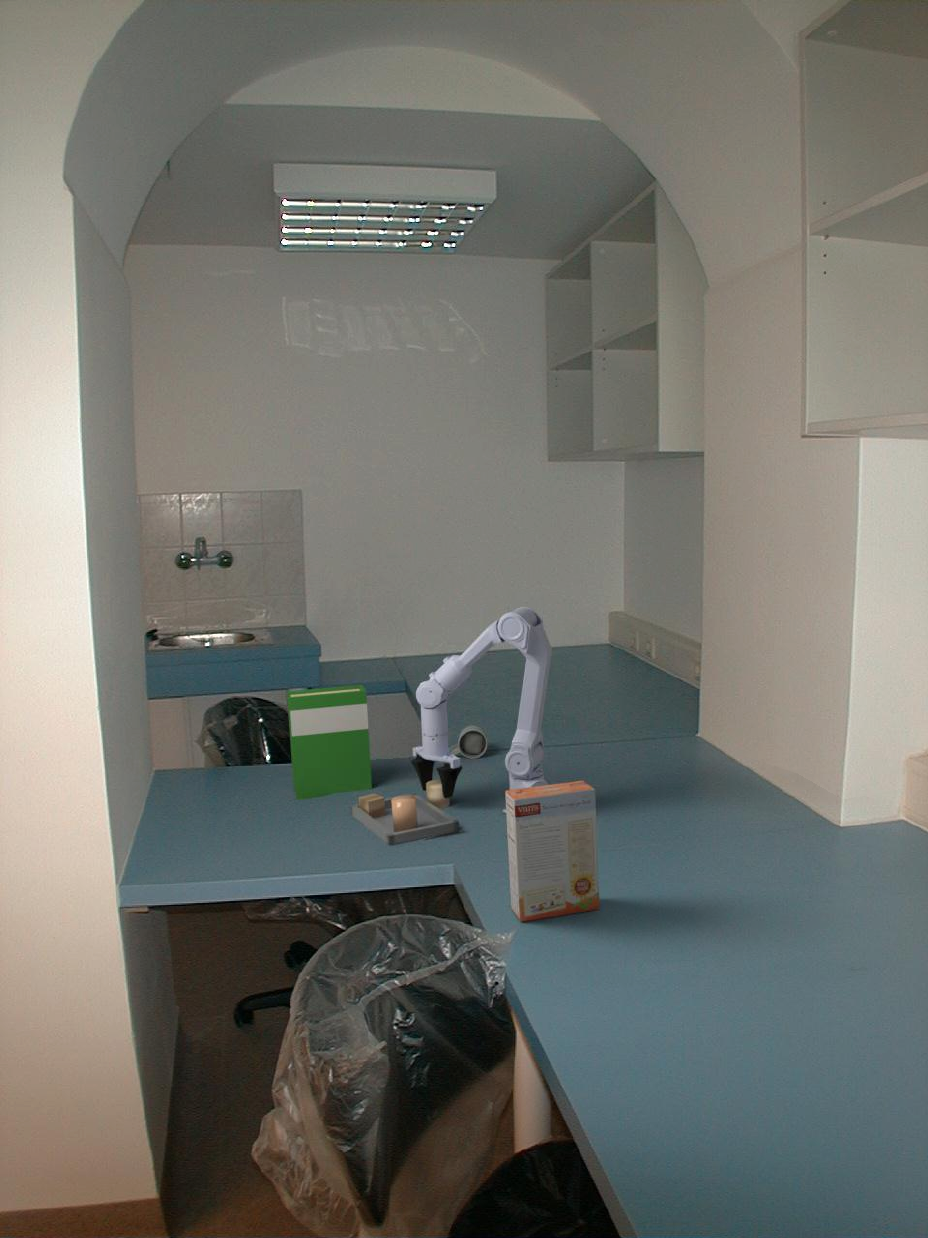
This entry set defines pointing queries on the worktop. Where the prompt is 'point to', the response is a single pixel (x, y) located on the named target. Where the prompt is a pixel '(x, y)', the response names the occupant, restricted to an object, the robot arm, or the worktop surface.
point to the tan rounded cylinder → (404, 813)
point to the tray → (428, 825)
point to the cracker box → (552, 850)
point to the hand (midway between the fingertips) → (437, 793)
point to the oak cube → (372, 805)
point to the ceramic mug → (471, 743)
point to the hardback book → (329, 741)
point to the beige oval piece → (436, 794)
